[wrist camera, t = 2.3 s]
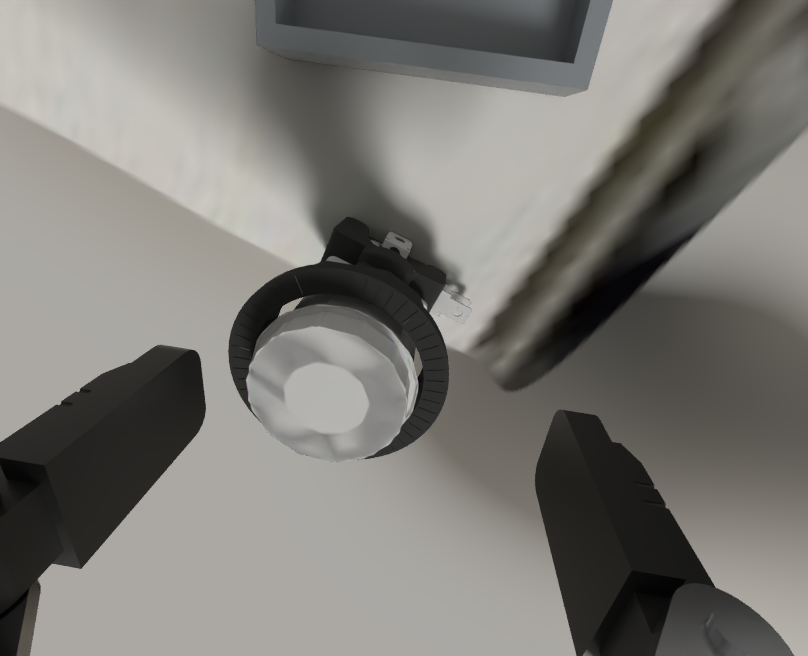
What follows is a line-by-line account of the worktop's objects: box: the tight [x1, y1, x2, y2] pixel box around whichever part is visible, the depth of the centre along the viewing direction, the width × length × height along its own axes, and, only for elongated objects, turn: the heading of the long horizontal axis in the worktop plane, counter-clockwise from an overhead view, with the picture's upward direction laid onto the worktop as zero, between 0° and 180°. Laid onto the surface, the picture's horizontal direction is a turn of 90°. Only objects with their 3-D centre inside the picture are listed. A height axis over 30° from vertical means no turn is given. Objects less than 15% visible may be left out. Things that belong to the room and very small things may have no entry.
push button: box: [228, 217, 472, 462], centre depth 13 cm, size 7×5×10 cm
